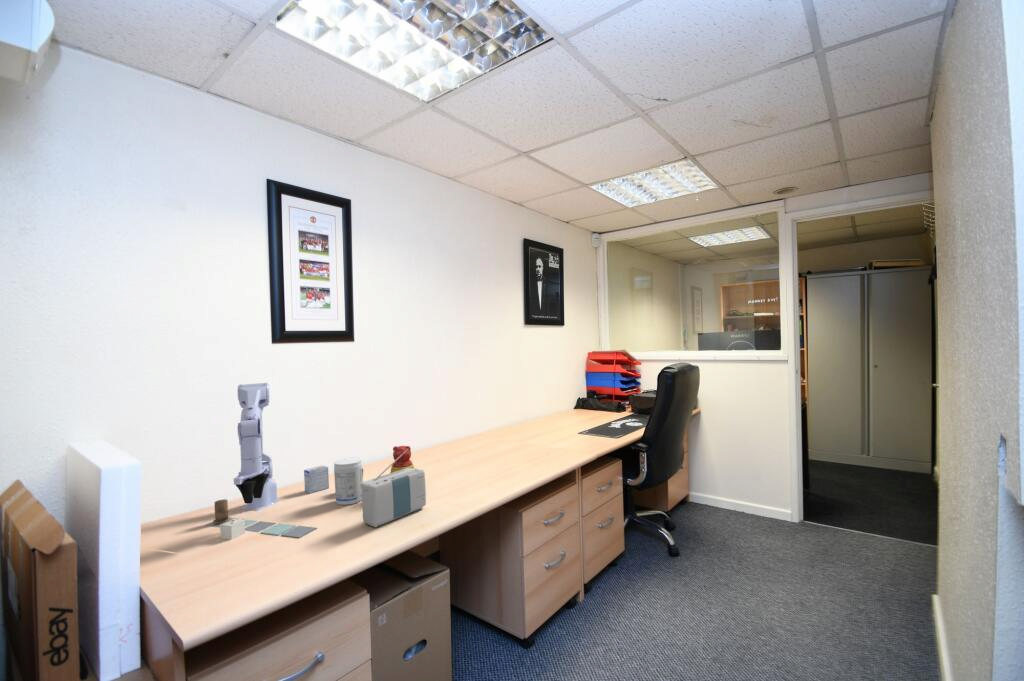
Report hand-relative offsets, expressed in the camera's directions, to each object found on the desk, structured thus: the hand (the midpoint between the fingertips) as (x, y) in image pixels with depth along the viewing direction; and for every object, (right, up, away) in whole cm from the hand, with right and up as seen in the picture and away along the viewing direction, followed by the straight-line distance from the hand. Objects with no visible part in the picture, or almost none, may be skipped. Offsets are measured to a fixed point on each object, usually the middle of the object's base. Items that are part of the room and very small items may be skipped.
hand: (253, 500), depth 146 cm
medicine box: (+5, -9, +35) cm, 37 cm away
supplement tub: (+23, -8, +21) cm, 32 cm away
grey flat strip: (+2, -8, -1) cm, 9 cm away
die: (-2, -9, -7) cm, 11 cm away
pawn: (-13, -9, +5) cm, 16 cm away
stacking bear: (+42, -7, +27) cm, 50 cm away
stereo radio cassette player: (+44, -7, +4) cm, 45 cm away
